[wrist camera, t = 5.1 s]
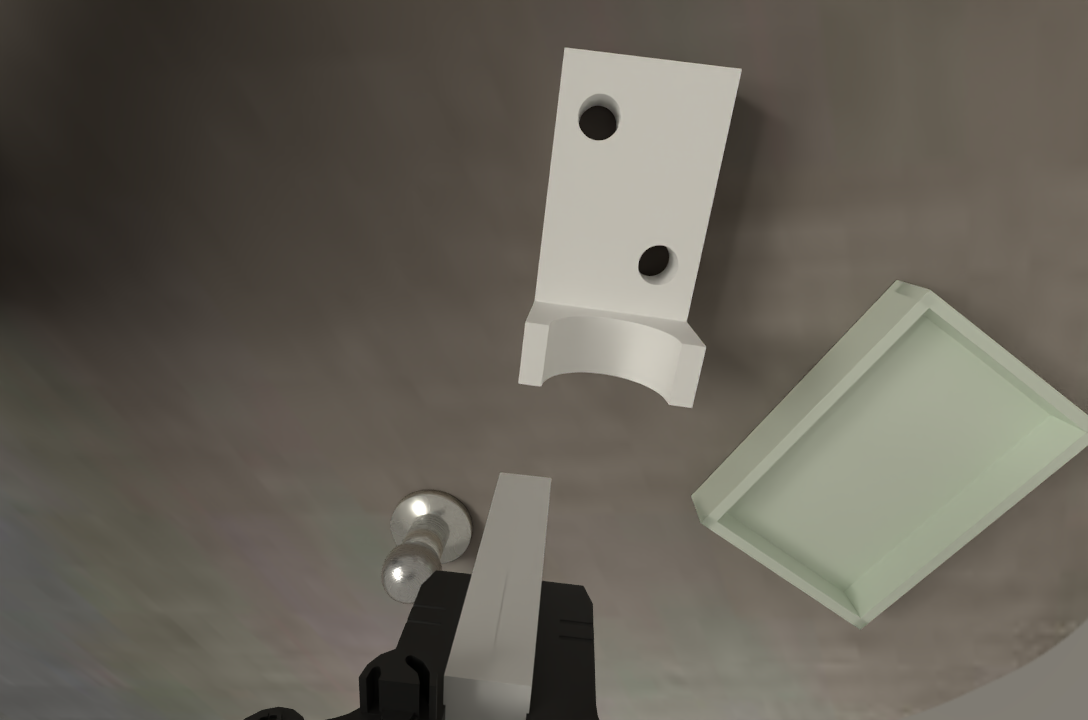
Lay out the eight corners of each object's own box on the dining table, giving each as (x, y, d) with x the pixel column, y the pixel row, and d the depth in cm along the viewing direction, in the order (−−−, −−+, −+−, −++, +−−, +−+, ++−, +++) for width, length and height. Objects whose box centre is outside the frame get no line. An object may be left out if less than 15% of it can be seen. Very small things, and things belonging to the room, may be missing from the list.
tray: (691, 495, 30) (700, 523, 28) (896, 279, 26) (930, 289, 23) (838, 595, 32) (860, 629, 29) (1059, 408, 27) (1106, 430, 25)
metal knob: (379, 530, 33) (338, 599, 27) (418, 475, 31) (383, 536, 26) (446, 570, 33) (419, 646, 28) (488, 518, 32) (468, 587, 26)
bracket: (664, 351, 28) (691, 408, 21) (534, 334, 28) (518, 383, 21) (719, 85, 24) (778, 41, 17) (567, 67, 24) (560, 15, 17)
